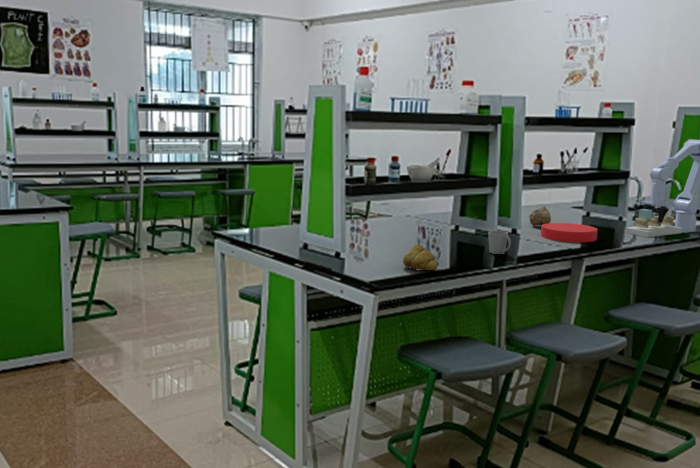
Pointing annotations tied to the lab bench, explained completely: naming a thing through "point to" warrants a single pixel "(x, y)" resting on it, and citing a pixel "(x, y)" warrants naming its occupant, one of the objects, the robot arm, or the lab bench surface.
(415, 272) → the lab bench surface
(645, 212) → the crate teal
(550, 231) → the disc
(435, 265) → the bread roll
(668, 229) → the dock
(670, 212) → the crate white
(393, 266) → the lab bench surface
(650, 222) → the beige lumpy bar
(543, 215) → the rock
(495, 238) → the cup
